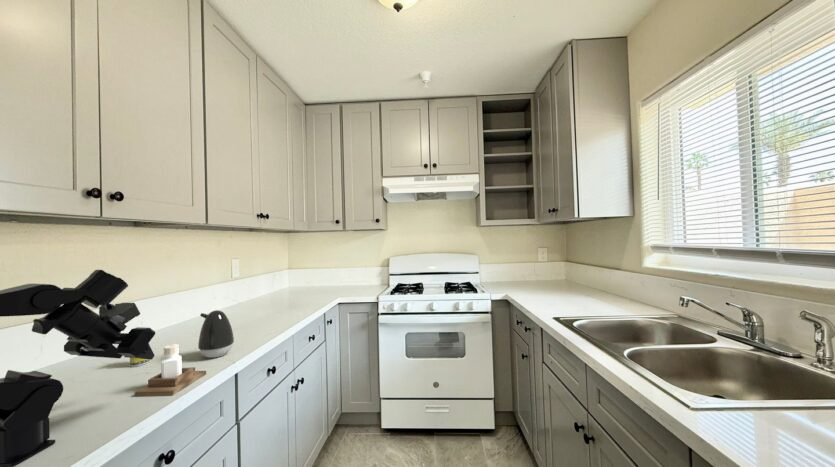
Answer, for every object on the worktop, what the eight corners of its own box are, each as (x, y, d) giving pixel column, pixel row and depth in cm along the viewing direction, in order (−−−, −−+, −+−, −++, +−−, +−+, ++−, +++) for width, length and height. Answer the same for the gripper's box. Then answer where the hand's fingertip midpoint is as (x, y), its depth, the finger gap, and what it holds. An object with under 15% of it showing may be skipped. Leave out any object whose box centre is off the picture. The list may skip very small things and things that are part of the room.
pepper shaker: (180, 381, 84) (179, 346, 84) (161, 385, 82) (160, 349, 82) (182, 376, 87) (181, 342, 87) (164, 380, 85) (163, 345, 85)
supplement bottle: (137, 367, 97) (137, 340, 97) (125, 366, 98) (125, 340, 98) (153, 361, 102) (152, 335, 102) (142, 360, 103) (141, 335, 103)
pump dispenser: (212, 349, 111) (211, 307, 111) (240, 349, 111) (239, 306, 111) (190, 361, 101) (189, 314, 101) (221, 360, 100) (220, 313, 101)
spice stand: (173, 395, 79) (173, 383, 79) (134, 396, 79) (134, 384, 79) (206, 374, 91) (206, 363, 91) (172, 374, 91) (172, 364, 91)
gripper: (146, 293, 71) (189, 328, 82) (79, 293, 74) (129, 327, 85) (108, 339, 63) (160, 370, 74) (34, 337, 66) (95, 368, 77)
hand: (136, 357), depth 77 cm, fingers open, 9 cm apart
